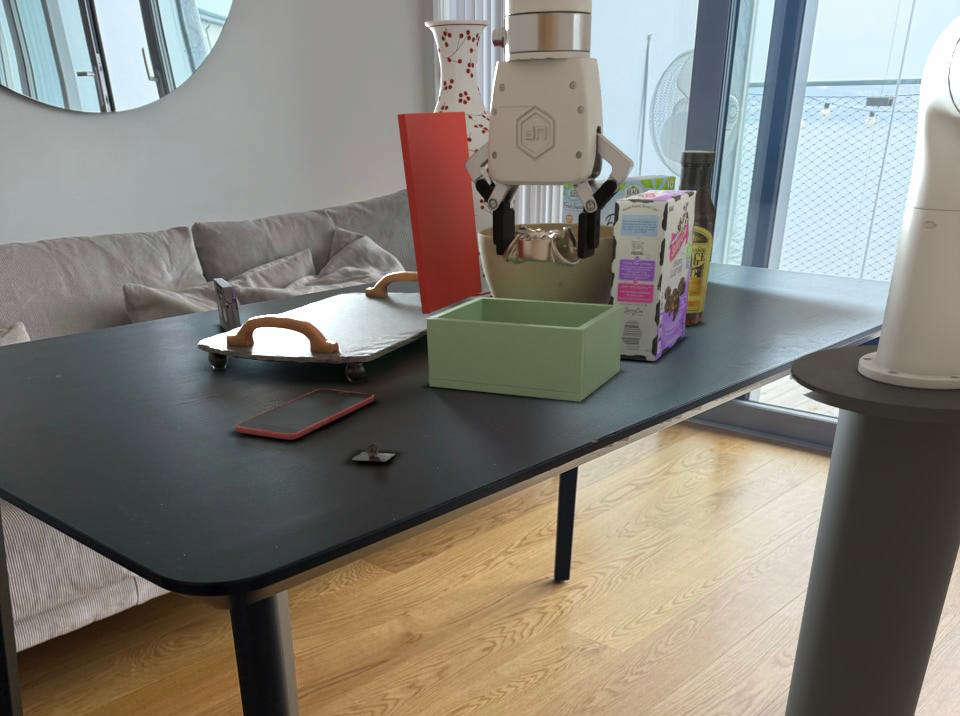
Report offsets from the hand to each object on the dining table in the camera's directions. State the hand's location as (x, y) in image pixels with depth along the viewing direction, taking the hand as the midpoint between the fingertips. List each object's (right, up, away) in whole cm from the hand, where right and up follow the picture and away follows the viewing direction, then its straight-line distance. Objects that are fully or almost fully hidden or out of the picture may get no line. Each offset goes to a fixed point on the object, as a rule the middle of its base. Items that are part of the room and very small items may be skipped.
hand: (545, 254), depth 89 cm
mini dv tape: (-40, +3, +33) cm, 52 cm away
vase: (-9, +15, +51) cm, 54 cm away
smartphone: (-23, -17, -3) cm, 28 cm away
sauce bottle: (+20, +3, +30) cm, 36 cm away
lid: (-10, +5, +2) cm, 11 cm away
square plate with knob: (-15, -23, -14) cm, 31 cm away
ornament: (0, -1, +1) cm, 1 cm away
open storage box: (-1, -10, +7) cm, 13 cm away
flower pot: (+3, 0, +25) cm, 25 cm away
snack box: (+16, +21, +59) cm, 64 cm away
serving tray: (-22, -2, +23) cm, 32 cm away
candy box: (+13, -4, +18) cm, 23 cm away
